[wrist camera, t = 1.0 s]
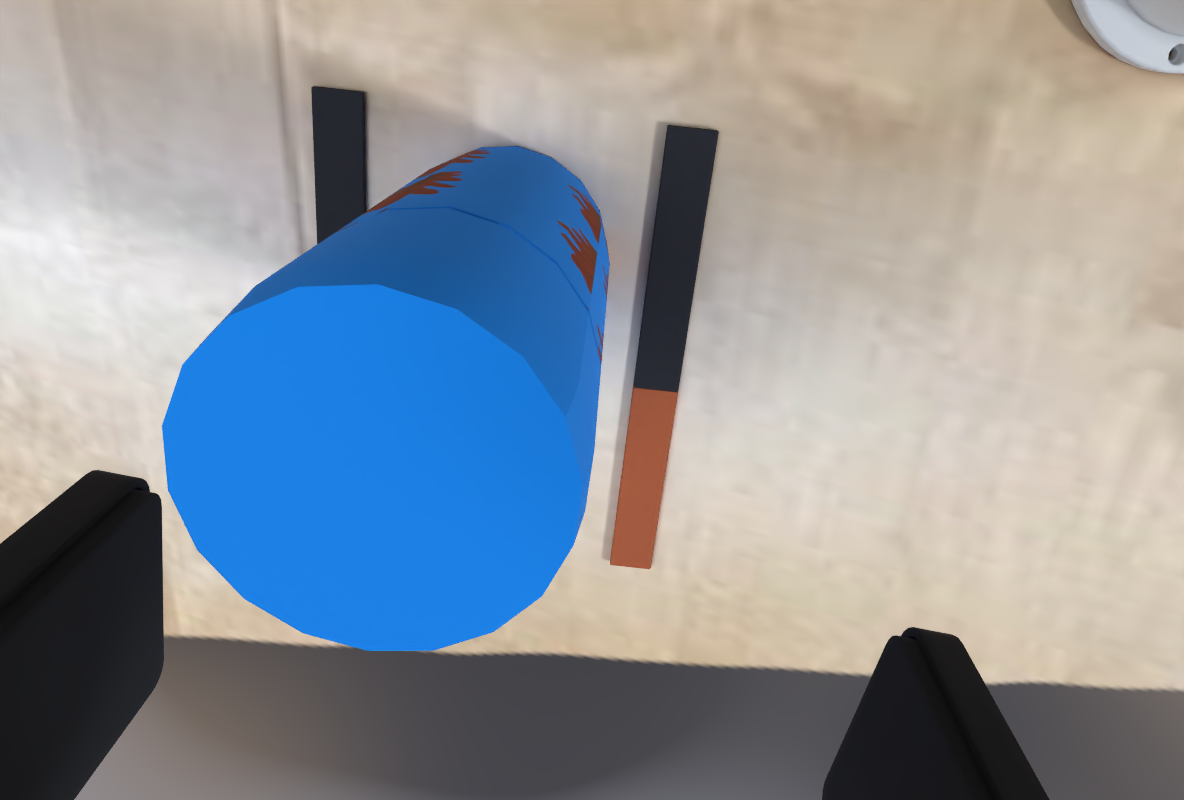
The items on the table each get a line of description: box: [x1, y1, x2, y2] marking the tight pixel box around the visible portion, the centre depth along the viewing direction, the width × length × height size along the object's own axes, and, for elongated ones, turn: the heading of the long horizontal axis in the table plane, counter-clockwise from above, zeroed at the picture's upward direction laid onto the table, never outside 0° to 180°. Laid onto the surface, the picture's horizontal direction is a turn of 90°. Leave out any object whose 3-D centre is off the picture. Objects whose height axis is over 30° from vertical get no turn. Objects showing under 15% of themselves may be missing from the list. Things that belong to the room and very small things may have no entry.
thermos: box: [162, 146, 610, 651], centre depth 32 cm, size 11×11×25 cm
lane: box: [312, 86, 719, 569], centre depth 45 cm, size 26×20×1 cm
